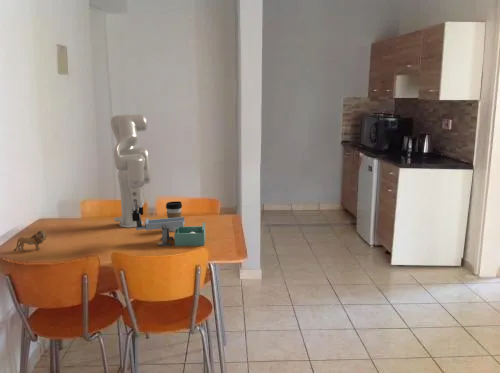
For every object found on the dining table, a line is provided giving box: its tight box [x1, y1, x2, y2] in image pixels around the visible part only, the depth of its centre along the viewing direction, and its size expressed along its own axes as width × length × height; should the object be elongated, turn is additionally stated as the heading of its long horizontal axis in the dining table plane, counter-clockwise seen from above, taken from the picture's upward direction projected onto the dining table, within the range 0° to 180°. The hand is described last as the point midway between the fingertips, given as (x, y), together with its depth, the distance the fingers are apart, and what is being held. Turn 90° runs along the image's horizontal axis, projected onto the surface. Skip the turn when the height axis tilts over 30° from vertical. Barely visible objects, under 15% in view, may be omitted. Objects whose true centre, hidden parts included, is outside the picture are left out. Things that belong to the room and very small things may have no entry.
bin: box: [173, 222, 207, 247], centre depth 232 cm, size 14×12×8 cm
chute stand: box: [157, 226, 175, 247], centre depth 231 cm, size 6×12×10 cm, turn 2°
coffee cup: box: [165, 200, 183, 233], centre depth 250 cm, size 8×8×15 cm
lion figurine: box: [13, 229, 48, 253], centre depth 221 cm, size 15×5×9 cm, turn 110°
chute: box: [135, 213, 186, 231], centre depth 230 cm, size 23×7×8 cm, turn 92°
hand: (138, 217), depth 230 cm, fingers open, 9 cm apart
